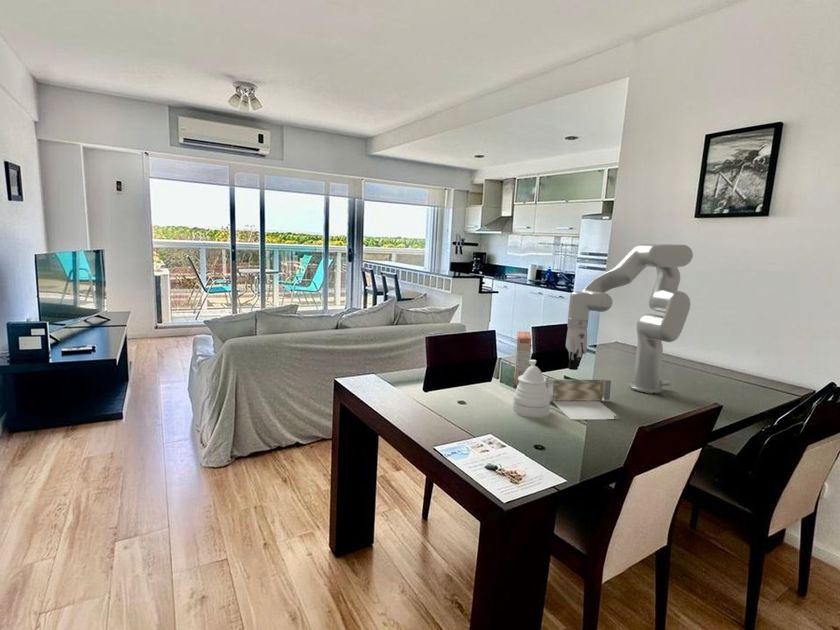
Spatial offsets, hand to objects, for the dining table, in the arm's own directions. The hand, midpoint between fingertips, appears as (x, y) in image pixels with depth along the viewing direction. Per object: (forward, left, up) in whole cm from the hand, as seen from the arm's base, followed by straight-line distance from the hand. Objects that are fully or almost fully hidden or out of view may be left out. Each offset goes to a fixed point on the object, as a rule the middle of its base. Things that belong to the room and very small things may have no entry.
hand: (572, 369), depth 180 cm
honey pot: (+21, +17, -11) cm, 29 cm away
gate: (0, +7, -10) cm, 12 cm away
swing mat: (+1, +17, -10) cm, 20 cm away
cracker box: (+15, -17, -11) cm, 25 cm away
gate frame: (0, +7, -11) cm, 13 cm away
